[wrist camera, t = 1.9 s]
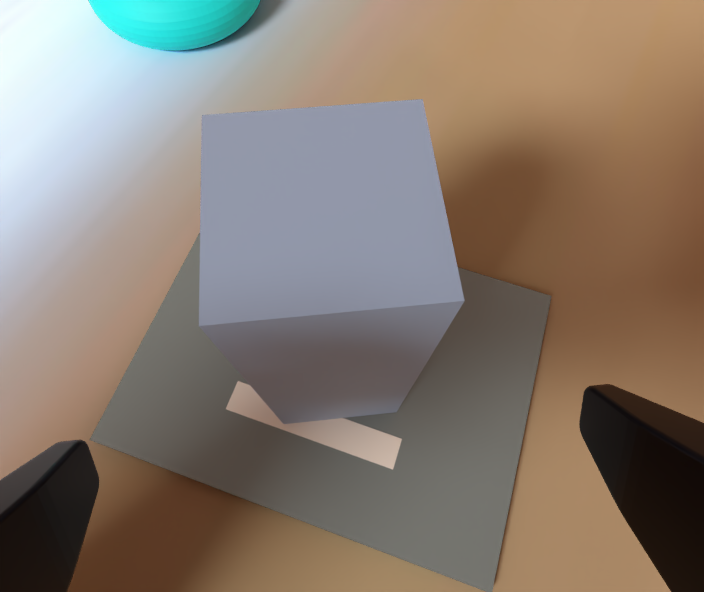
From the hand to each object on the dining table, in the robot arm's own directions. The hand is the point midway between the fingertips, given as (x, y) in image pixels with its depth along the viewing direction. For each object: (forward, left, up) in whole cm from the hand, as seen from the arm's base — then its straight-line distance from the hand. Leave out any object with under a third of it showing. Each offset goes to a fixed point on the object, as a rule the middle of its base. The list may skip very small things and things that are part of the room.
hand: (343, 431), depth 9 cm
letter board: (+4, +2, -11) cm, 12 cm away
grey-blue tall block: (+4, +2, -11) cm, 11 cm away
